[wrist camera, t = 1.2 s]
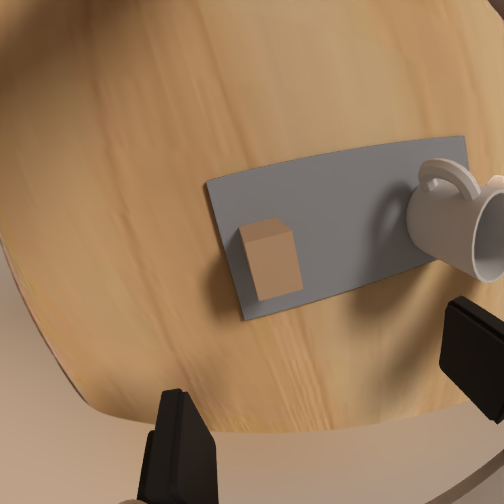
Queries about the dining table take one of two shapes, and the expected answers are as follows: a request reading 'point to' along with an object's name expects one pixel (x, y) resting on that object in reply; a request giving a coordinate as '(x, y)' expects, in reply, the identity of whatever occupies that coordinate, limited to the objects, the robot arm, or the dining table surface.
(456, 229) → the cup
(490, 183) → the cylindrical container
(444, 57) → the dining table surface
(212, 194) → the strip
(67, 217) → the dining table surface
